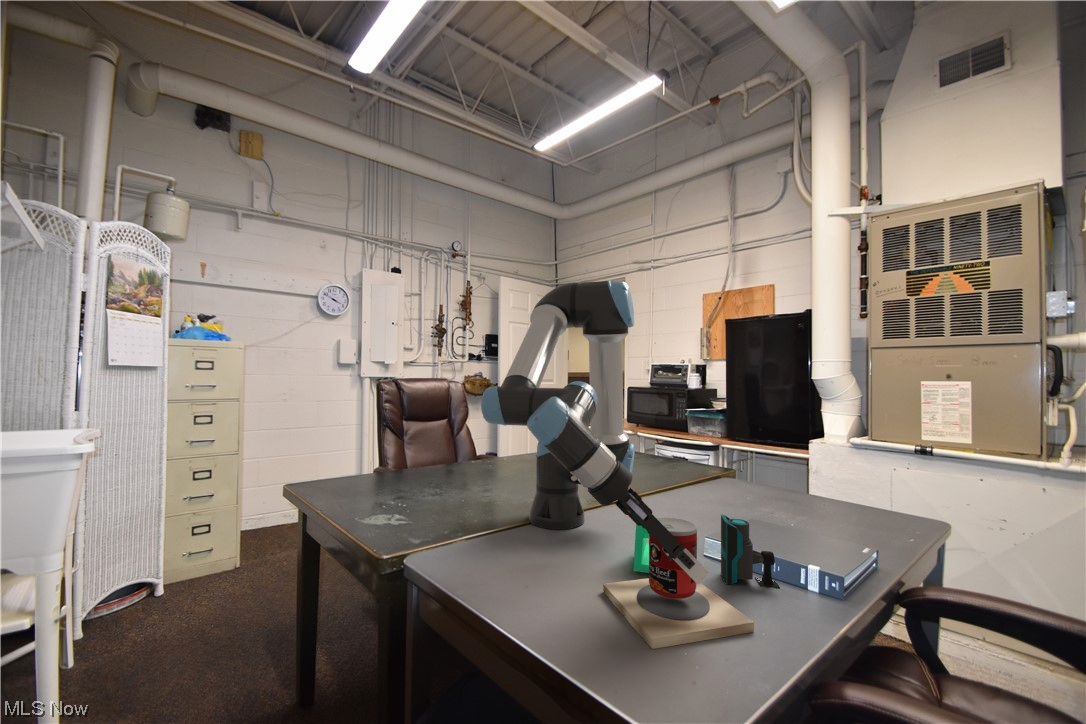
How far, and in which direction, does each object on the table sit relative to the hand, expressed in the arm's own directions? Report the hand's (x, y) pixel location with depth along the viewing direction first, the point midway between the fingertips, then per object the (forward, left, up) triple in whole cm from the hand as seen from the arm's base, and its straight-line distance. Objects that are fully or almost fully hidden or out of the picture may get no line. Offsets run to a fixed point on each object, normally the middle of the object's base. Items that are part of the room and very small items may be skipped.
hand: (691, 566), depth 78 cm
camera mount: (-18, +3, -8) cm, 19 cm away
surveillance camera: (-7, +18, -8) cm, 20 cm away
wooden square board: (-1, -3, -7) cm, 8 cm away
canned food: (-1, -3, -4) cm, 5 cm away
